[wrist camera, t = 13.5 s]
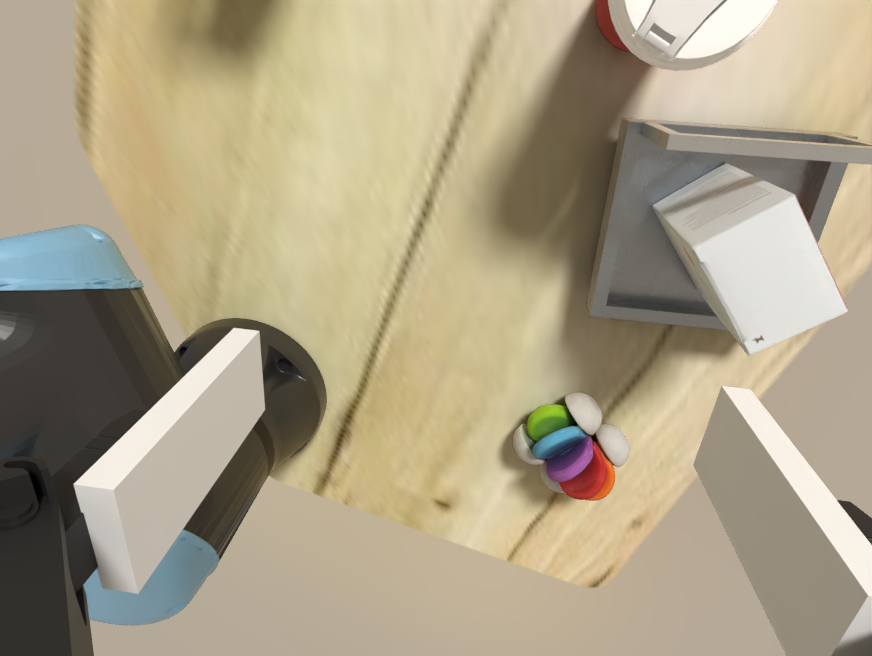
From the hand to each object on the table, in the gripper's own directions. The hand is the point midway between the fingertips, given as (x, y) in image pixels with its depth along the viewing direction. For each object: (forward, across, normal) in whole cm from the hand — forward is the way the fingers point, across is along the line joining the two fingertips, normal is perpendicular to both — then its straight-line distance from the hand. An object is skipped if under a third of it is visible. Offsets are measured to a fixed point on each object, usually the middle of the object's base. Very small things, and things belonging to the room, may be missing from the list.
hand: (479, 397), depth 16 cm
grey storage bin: (+29, +15, -1) cm, 33 cm away
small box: (+27, +16, -1) cm, 31 cm away
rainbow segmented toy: (+30, +10, -22) cm, 38 cm away
